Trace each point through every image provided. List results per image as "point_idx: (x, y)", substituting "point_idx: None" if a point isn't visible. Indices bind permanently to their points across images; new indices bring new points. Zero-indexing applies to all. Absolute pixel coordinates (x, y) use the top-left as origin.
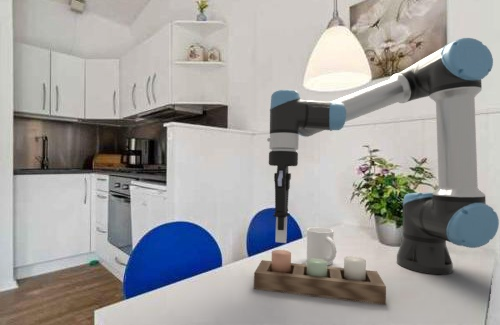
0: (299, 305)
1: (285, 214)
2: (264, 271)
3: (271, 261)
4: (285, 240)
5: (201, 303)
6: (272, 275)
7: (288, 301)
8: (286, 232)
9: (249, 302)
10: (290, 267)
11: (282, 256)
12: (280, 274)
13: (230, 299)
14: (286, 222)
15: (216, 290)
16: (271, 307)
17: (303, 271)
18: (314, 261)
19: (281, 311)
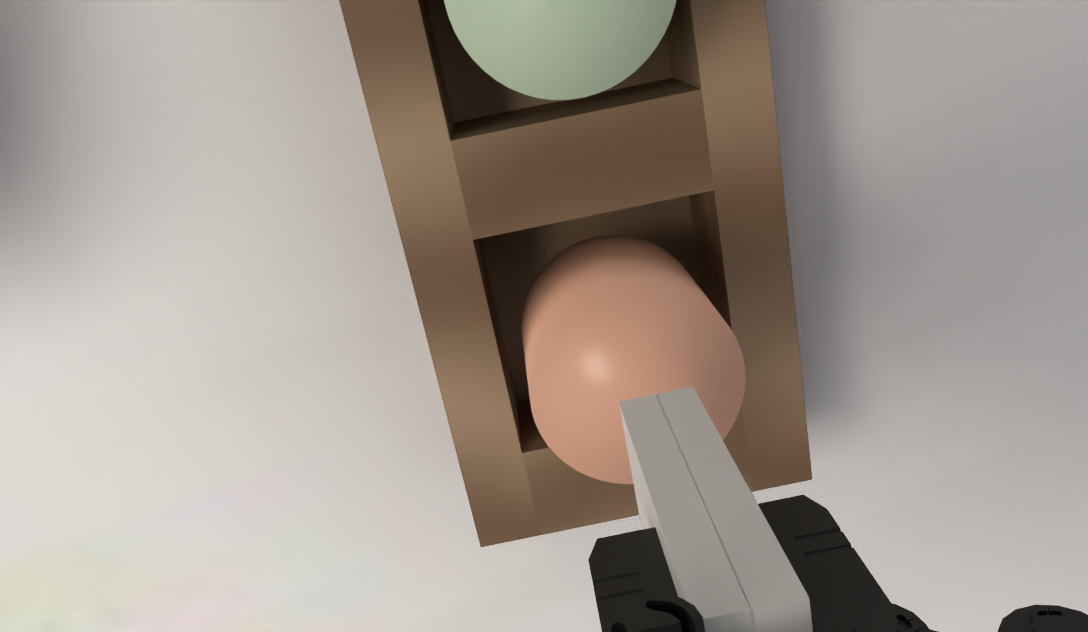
0: (913, 40)
1: (1054, 620)
2: (754, 421)
3: (469, 464)
4: (702, 404)
5: (1067, 582)
6: (797, 336)
7: (877, 133)
8: (668, 457)
9: (975, 361)
10: (618, 244)
11: (735, 341)
12: (770, 281)
13: (971, 475)
14: (762, 540)
15: None
16: (1001, 211)
17: (603, 112)
18: (577, 5)
19: (1036, 132)
